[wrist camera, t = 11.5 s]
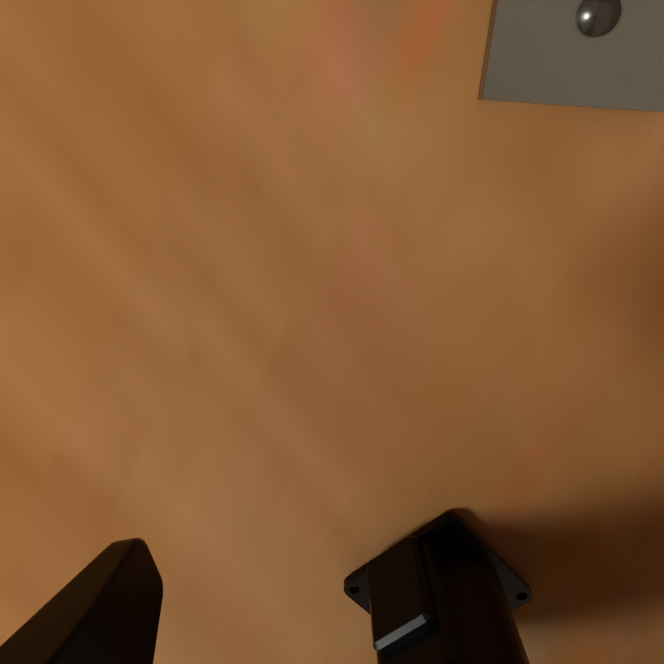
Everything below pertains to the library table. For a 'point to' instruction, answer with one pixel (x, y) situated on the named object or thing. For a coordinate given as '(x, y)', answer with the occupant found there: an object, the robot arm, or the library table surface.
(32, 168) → the library table surface
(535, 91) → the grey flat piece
